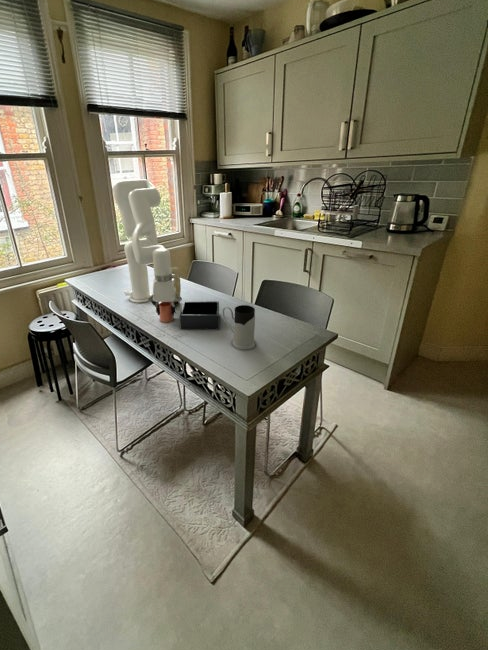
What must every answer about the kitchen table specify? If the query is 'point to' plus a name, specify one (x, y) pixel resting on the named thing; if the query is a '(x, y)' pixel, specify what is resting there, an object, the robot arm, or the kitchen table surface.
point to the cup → (165, 311)
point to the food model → (176, 280)
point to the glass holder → (243, 326)
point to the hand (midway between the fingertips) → (166, 313)
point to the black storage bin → (200, 315)
